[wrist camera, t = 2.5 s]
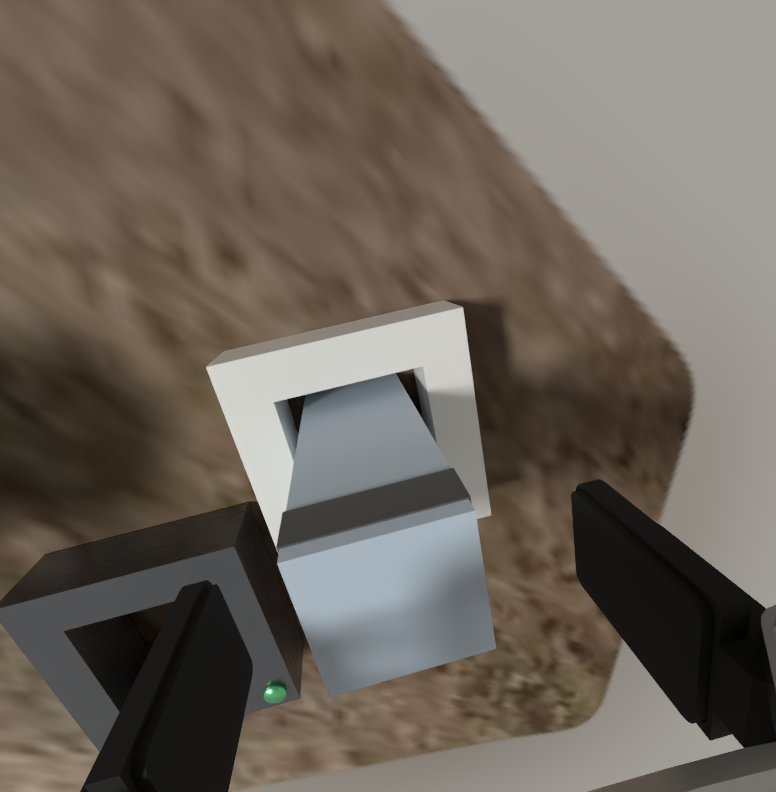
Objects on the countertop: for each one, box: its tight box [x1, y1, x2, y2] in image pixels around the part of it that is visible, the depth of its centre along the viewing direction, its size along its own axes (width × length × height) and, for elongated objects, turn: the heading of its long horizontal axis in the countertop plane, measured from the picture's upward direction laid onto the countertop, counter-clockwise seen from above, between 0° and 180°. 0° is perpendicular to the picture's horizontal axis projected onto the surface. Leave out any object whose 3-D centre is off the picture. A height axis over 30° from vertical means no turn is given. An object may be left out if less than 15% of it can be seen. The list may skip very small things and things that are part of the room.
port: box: [0, 502, 304, 752], centre depth 18 cm, size 9×9×3 cm
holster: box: [206, 300, 491, 552], centre depth 17 cm, size 9×9×2 cm
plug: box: [276, 373, 496, 697], centre depth 13 cm, size 4×4×10 cm
